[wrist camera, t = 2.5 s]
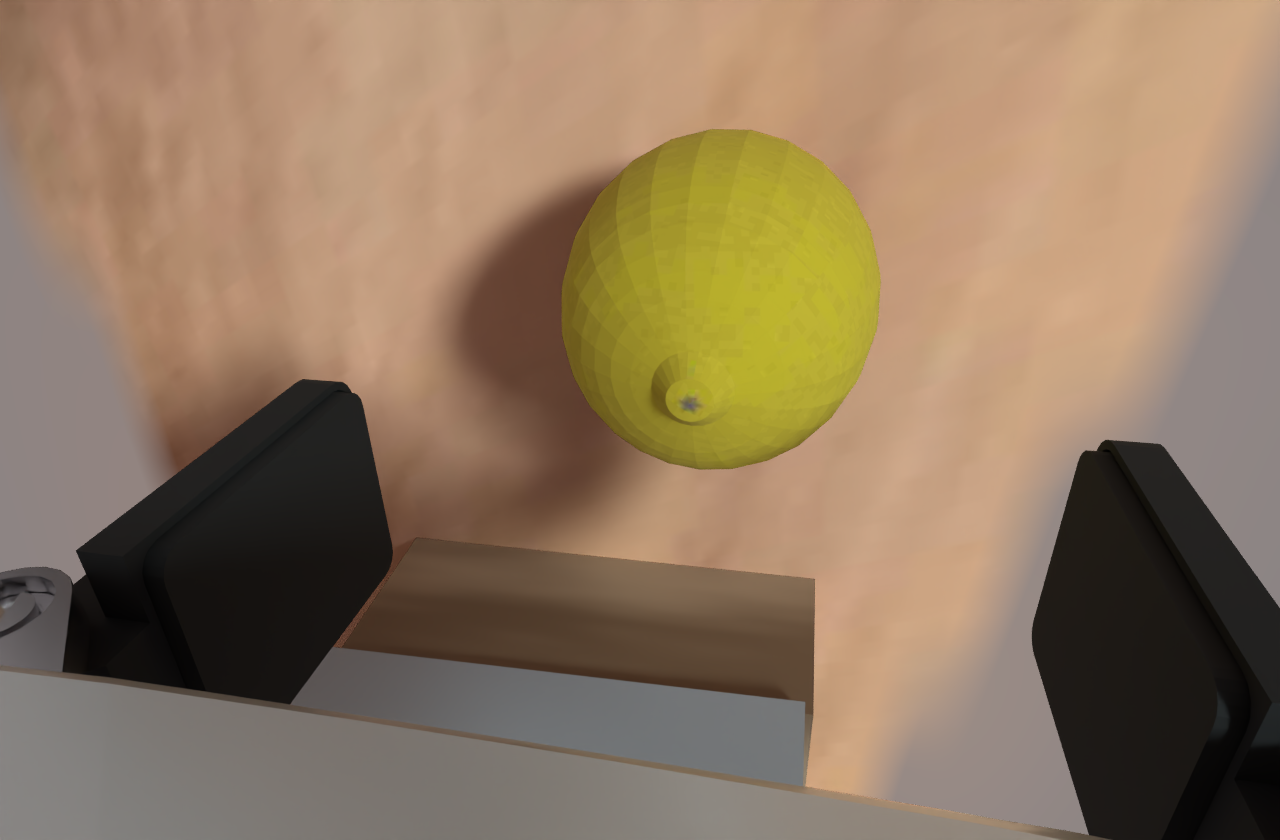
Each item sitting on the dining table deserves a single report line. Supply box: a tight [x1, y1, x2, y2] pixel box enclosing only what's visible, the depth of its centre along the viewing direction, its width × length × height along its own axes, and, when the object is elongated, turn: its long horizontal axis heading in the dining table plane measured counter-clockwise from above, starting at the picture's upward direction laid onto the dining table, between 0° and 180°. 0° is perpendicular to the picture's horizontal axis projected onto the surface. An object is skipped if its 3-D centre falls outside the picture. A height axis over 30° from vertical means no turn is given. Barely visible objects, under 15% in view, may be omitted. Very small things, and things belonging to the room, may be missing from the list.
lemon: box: [561, 129, 880, 469], centre depth 14 cm, size 6×6×8 cm
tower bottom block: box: [342, 538, 815, 787], centre depth 25 cm, size 12×12×5 cm
